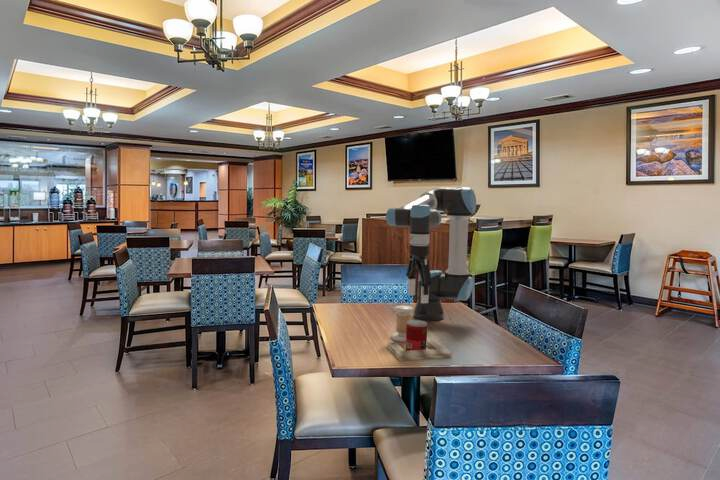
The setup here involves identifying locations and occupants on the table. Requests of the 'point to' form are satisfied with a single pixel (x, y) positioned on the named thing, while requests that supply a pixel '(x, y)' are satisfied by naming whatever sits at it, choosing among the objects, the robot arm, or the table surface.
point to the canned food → (416, 335)
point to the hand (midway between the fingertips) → (417, 298)
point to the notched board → (420, 352)
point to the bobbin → (401, 322)
